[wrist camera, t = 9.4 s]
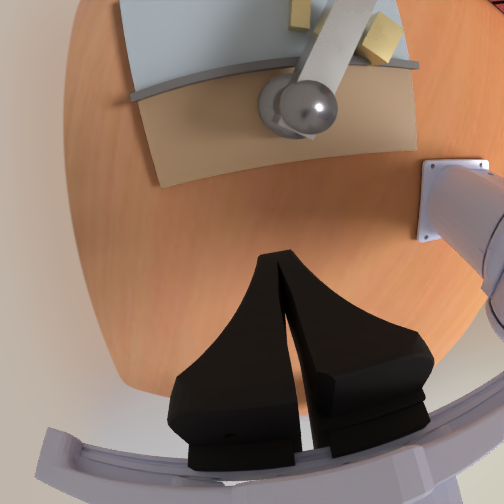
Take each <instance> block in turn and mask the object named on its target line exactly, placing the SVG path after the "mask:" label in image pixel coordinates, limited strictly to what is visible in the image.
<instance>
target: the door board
mask: <svg viewBox="0 0 504 504" xmlns="http://www.w3.org/2000/svg"><path fill="white" fill-rule="evenodd" d="M119 1H120V9H121V16H122V23H123V29H124V36H125V41H126V47H127V53H128V58H129V63H130V68H131V73H132V78H133V83H134V87H135V92H133V93H131V94H130V98H131V102H138V105H139V109H140V113H141V118H142V122H143V126H144V129H145V133H146V137H147V141H148V145H149V148H150V152H151V156H152V159H153V163H154V166H155V170H156V173H157V177H158V180H159V183H160V187H161V188H165V187H169V186H173V185H177V184H181V183H185V182H190V181H194V180H198V179H203V178H207V177H212V176H217V175H221V174H226V173H231V172H236V171H242V170H247V169H252V168H258V167H264V166H270V165H276V164H282V163H289V162H296V161H303V160H310V159H318V158H326V157H335V156H344V155H355V154H366V153H379V152H395V151H417V131H416V113H415V100H414V90H413V82H412V74H411V70H413V69H419V63H418V62H417V61H410V60H409V55H408V50H407V45H406V40H405V35H404V32H403V34H402V37H401V39H400V41H399V43H398V45H397V47H396V49H395V51H394V53H393V55H392V57H391V59H390V61H389V63H387V64H381V65H375V66H369V67H366V66H367V65H372V64H371V63H369V62H368V61H367V60H365V59H364V58H362V57H361V56H352V58H351V60H350V62H349V64H348V66H347V69H346V71H345V73H344V75H343V77H342V79H341V82H340V84H339V86H338V88H337V90H336V92H335V95H334V96H335V98H336V100H337V105H338V113H337V117H336V120H335V121H334V123H333V124H332V126H331V127H330V128H328V129H327V130H326V131H324V132H322V133H319V134H316V136H315V138H314V140H311V139H309V138H304V139H296V140H295V139H287V138H284V137H281V136H279V135H277V134H275V133H274V132H272V131H271V130H270V129H269V128H268V127H267V126H266V125H265V124H264V123H263V121H262V120H261V118H260V116H259V112H258V107H257V102H258V97H259V94H260V92H261V90H262V88H263V87H264V86H265V85H266V84H267V83H268V82H269V81H270V80H272V79H273V78H275V77H277V76H279V75H282V74H285V73H293V71H294V69H295V67H296V65H297V63H298V60H299V58H300V56H301V54H302V52H303V50H304V48H305V46H306V44H307V42H308V40H309V37H310V35H311V33H312V31H313V29H314V27H315V25H316V23H317V21H318V19H319V17H320V15H321V13H322V11H323V9H324V7H325V5H326V3H327V1H328V0H311V13H310V29H309V30H308V31H307V32H306V33H302V32H296V31H289V30H288V16H289V1H290V0H119ZM379 11H380V12H382V13H383V14H384V15H386V16H387V17H389V18H390V19H391V20H393V21H394V22H395V23H397V24H398V25H399V26H401V27H402V28H403V26H402V22H401V18H400V14H399V11H398V7H397V4H396V0H377V2H376V4H375V7H374V9H373V11H372V13H371V15H373V14H375V13H377V12H379Z"/></svg>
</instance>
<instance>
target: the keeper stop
mask: <svg viewBox="0 0 504 504" xmlns="http://www.w3.org/2000/svg"><path fill="white" fill-rule="evenodd" d="M403 32H404V29H403V28H402V27H401V26H399V25H398V24H397V23H395V22H394V21H393V20H391V19H390V18H389V17H387V16H386V15H384V14H383V13H382V12H380V11H379V12H377V13H375V14H373V15H371V16H370V18H369V20H368V22H367V24H366V27H365V29H364V31H363V33H362V36H361V38H360V40H359V42H358V44H357V47H356V49H355V51H354V53H353V55H352V56H361V57H362V58H364V59H365V60H367V61H368V62H369V63H371V64H372V65H367V66H366V67H369V66H375V65H381V64H387V63H389V61H390V59H391V57H392V55H393V53H394V51H395V49H396V47H397V45H398V43H399V41H400V39H401V37H402V34H403Z"/></svg>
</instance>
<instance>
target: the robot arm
mask: <svg viewBox="0 0 504 504" xmlns="http://www.w3.org/2000/svg"><path fill="white" fill-rule="evenodd" d="M431 164H432V167H431ZM479 164H480V165H479ZM488 168H489V162H488V160H486V159H438V160H425V161H424V162H423V164H422V185H421V200H420V212H419V222H418V230H417V241H418V242H420V243H422V242H427V241H431V240H436V239H440V238H442V239H444V240H445V241H446V242H447V243H448V244H449V245H450V246H451V247H452V248H453V249H454V250H455V251H456V252H457V253H458V254H459V255H460V256H461V257H462V258H463V259H464V260H465V261H466V262H467V263H468V264H469V265H470V266H471V267H472V268H473V269H474V270H475V271H476V272H477V273H478V274H479V275H480V276H481V277H482V278H483V279H484V280H483V284H482V286H481V289H482V290H483V291H484V292H485V294H486V295H487V296H488V299H487V301H486V313H487V316H488V319H489V322H490V324H491V326H492V328H493V330H494V331H495V333H496V334H497V335H498V336H499V337H500V339H502V340H503V341H504V178H502V177H501V176H499V175H497V174H495V173H493V172H491V171H489V170H488ZM425 236H426V237H425ZM424 237H425V238H424ZM285 314H286V317H287V321H288V324H289V327H290V331H291V334H292V337H293V341H294V344H295V347H296V351H297V354H298V358H299V362H300V367H301V372H302V378H303V383H304V389H305V395H306V401H307V407H308V413H309V419H310V426H311V432H312V439H313V446H314V450H308V451H303V452H302V442H301V430H300V420H299V411H298V402H297V395H296V389H295V383H294V377H293V372H292V367H291V362H290V356H289V351H288V346H287V334H286V320H285ZM433 366H434V357H433V355H432V354H431V352H430V350H429V348H428V346H427V345H426V343H425V342H424V340H423V339H422V338H421V336H420V335H419V333H418V332H416V331H413V330H410V329H407V328H404V327H401V326H398V325H395V324H392V323H390V322H387V321H385V320H383V319H380V318H378V317H376V316H374V315H372V314H369V313H367V312H366V311H364V310H362V309H360V308H358V307H356V306H355V305H353V304H351V303H350V302H348V301H346V300H345V299H343V298H342V297H341V296H339V295H338V294H336V293H335V292H334V291H332V290H331V289H330V288H329V287H327V286H326V285H325V284H324V283H323V282H321V281H320V280H319V279H318V278H317V277H316V276H315V275H314V274H313V273H312V272H311V271H310V270H309V269H308V268H307V267H306V266H305V265H304V264H303V263H302V262H301V261H300V260H299V258H298V257H297V256H296V255H295V254H294V252H293V251H292V250H285V251H279V252H273V253H268V254H262V255H260V256H259V257H258V260H257V265H256V269H255V272H254V275H253V278H252V280H251V283H250V285H249V288H248V290H247V292H246V294H245V296H244V298H243V300H242V302H241V304H240V306H239V308H238V309H237V311H236V313H235V314H234V316H233V317H232V319H231V321H230V322H229V323H228V325H227V326H226V327H225V329H224V330H223V332H222V333H221V334H220V335H219V337H218V338H217V339H216V340H215V341H214V343H213V344H212V345H211V346H210V347H209V348H208V349H207V350H206V351H205V352H204V353H203V354H202V355H201V356H200V357H199V358H198V359H197V360H196V361H195V362H194V363H193V364H192V365H191V366H189V367H188V368H187V369H186V370H185V371H183V372H182V373H181V374H180V375H178V376H177V377H176V381H175V384H174V387H173V390H172V394H171V397H170V404H169V411H168V418H167V421H168V425H169V426H170V428H171V429H172V430H173V431H174V432H175V433H176V434H178V435H179V436H180V437H181V438H182V439H183V440H185V441H186V442H187V443H188V444H189V452H188V459H183V458H168V457H158V456H149V455H140V454H134V453H128V452H122V451H116V450H111V449H106V448H102V447H97V446H93V445H89V444H85V443H82V442H81V441H80V440H79V439H77V438H76V437H74V436H73V435H71V434H68V433H66V432H63V431H59V430H56V429H53V428H50V427H49V428H47V431H46V435H45V438H44V441H43V445H42V448H41V452H40V456H39V460H38V464H37V468H36V473H35V477H36V478H37V479H38V480H40V481H42V482H44V483H46V484H48V485H50V486H52V487H54V488H56V489H58V490H60V491H62V492H64V493H66V494H68V495H71V496H73V497H75V498H77V499H80V500H82V501H84V502H87V503H89V504H463V502H462V498H461V494H460V490H459V486H458V483H457V480H456V475H457V474H459V473H461V472H462V471H464V470H466V469H467V468H468V467H470V466H472V465H473V464H475V463H476V462H477V461H479V460H480V459H482V458H483V457H485V456H486V455H487V454H489V453H490V452H491V451H493V450H494V449H495V448H497V447H498V446H499V445H500V444H502V443H503V442H504V371H503V372H502V373H500V374H499V375H498V376H496V377H494V378H493V379H491V380H490V381H488V382H487V383H485V384H483V385H482V386H480V387H479V388H477V389H475V390H473V391H472V392H470V393H468V394H466V395H465V396H463V397H461V398H459V399H457V400H455V401H453V402H451V403H450V404H448V405H446V406H444V407H441V408H439V409H437V410H435V411H433V412H431V413H429V414H428V412H427V410H426V407H425V405H424V402H423V401H424V400H425V394H424V392H423V389H422V387H423V385H424V384H425V382H426V380H427V379H428V377H429V375H430V374H431V371H432V369H433ZM402 447H404V448H402ZM400 448H401V449H400ZM397 449H398V450H397ZM394 450H395V451H394ZM263 479H265V480H263ZM248 480H257V481H249V482H244V483H239V484H236V485H235V486H225V485H224V484H223V483H222V482H217V481H248Z"/></svg>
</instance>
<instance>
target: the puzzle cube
mask: <svg viewBox="0 0 504 504" xmlns="http://www.w3.org/2000/svg"><path fill="white" fill-rule="evenodd" d="M490 1H491V2H492V3H493V4H494V5H495V6H497V7H498V8H499V9H500V10H501V11H502V12H503V13H504V0H490Z"/></svg>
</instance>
